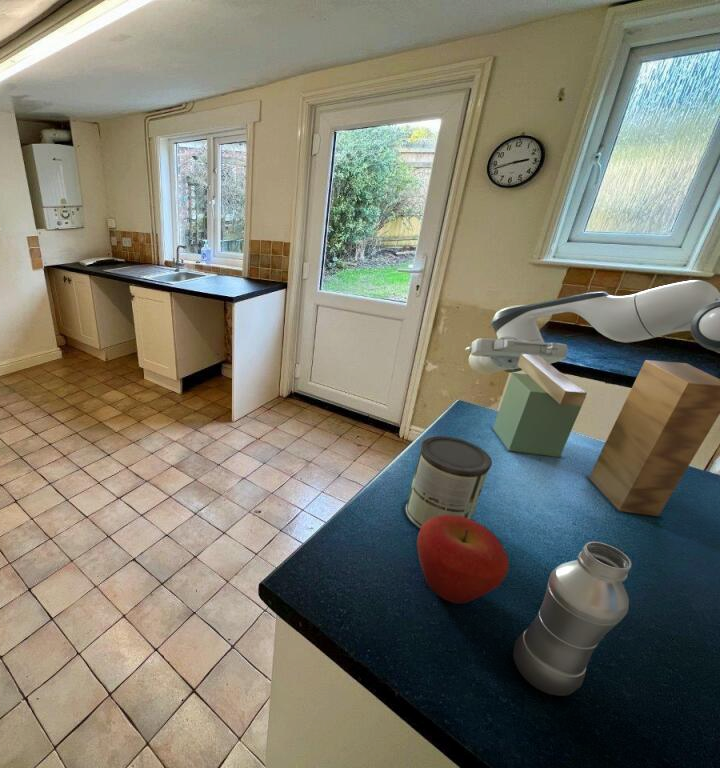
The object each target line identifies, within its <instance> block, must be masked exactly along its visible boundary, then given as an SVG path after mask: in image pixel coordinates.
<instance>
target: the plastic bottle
mask: <svg viewBox="0 0 720 768" xmlns="http://www.w3.org/2000/svg"><path fill="white" fill-rule="evenodd" d="M631 568H632V561H631V559H630V558H629V557H628V556H627V555H626V554H625V552H623V551H621V550H620V549H619V548H616V547H615V546H612V545H611V544H607V543H605V542H599V541H589V542H587V543H586V544H584V546H583V548H582V549H581V551H580V552H579V553H578V555H577V557H576V560H571V561H567V562H562V563H561V564H559V565H558V566H556V567H555V568H553V570H552V571H551V572H550V575H549V577H548V581H547V586H546V590H545V594H544V598H543V599H542V600H543V601H542V602H541V605H540V609H539V610H538V613H537V615H536V617H535V618H534V619H533V621H532V622H531V623H530V625H529V626H528V628H526V629H525V630H524V631H523V632H522V633H521V634H520V635H519V636H518V638H517V639H516V640H515V643H514V645H513V646H514V647H513V653H512V658H513V661H514V664H515V666H516V668H517V670H518V671H519V673H520V674H521V676H522V677H523V678H524V680H526V682H528V683H529V684H530V685H532V687H534V688H536V689H537V690H539V691H541V692H543V693H545V694H548V695H552V696H558V697H565V696H570V695H572V694H573V693H575V692H576V691H577V690H578V689H580V688H581V686H582V685H583V683H584V680H585V676H586V672H587V666H588V664H589V663H590V659H591V657H592V656H593V655H592V654H593V652H594V650H595V649H596V648H597V646H598V645H599V644H600V642H601V641H602V640H603V638H604V637H605V636H606V635H607V634H609V632H610V631H612V629H613V628H615V627H616V626H617V625H618V624H619V623H620V622H621V621H622V620H623V619H624V618H625V617H626V616H627V614H628V612H629V605H630V603H629V602H630V599H629V595H628V593H627V591H626V587H625V586H624V584H623V583H624V582H625V581H626V579H627V578H628V573H629V572H630V570H631Z"/></svg>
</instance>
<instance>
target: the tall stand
mask: <svg viewBox="0 0 720 768" xmlns="http://www.w3.org/2000/svg"><path fill="white" fill-rule="evenodd" d="M719 417H720V378H718V377H716V376H714V375H712V374H710V373H708V372H705V371H704V370H701V369H700V368H697V367H695V366H693V365H691V364H689V363H686V362H677V361H675V362H674V361H664V360H663V361H661V360H649V359H645V360H644V362H643V364H642V366H641V368H640V370H639V372H638V374H637V376H636V378H635V380H634V383H633V385H632V386H631V389H630V391H629V393H628V395H627V397H626V399H625V401H624V403H623V406H622V408H621V410H620V411H619V414H618V416H617V418H616V420H615V422H614V424H613V426H612V428H611V430H610V432H609V434H608V437H607V439H606V440H605V443H604V444H603V447H602V449H601V451H600V452H599V454H598V457H597V459H596V461H595V463H594V466H593V468H592V470H591V472H590V473H589V475H588V479H589V480H590V481H591V482H592V483H593V485H595V486H596V488H597V489H598V490H599V491H600V492H601V493H602V494H603V495H604V496H605V498H606V499H607V500H608V501H609V502H610V503H611V504H612V505H613V506H614V507H615V508H616V509H617V510H618V512H625V513H631V514H637V515H644V516H653V517H659V516H660V514H661V512H662V511H663V510H664V508H665V506H666V504H667V503H668V501H669V499H670V498H671V496H672V494H673V492H674V491H675V489H676V488H677V486H678V485H679V483H680V481H681V479H682V478H683V476H684V474H685V473H686V471H687V469H688V468H689V466H690V464H691V463H692V461H693V459H694V458H695V456H696V454H697V453H698V451H699V449H700V448H701V446H702V444H703V443H704V441H705V439H706V438H707V436H708V434H709V433H710V431H711V430H712V427H713V426H714V424H715V423H716V422H717V419H718V418H719Z"/></svg>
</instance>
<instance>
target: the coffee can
mask: <svg viewBox="0 0 720 768" xmlns="http://www.w3.org/2000/svg"><path fill="white" fill-rule="evenodd" d="M419 450H420V451H419V455H418V459H417V463H416V466H415V471H414V475H413V478H412V482H411V487H410V491H409V495H408V499H407V503H406V505H405V514H406V516H407V518H408V519H409V521H410V522H411V523H412V524H413V525H414V526H416V527H417V528H418V529H419V530H420V529H421V526H422V525H423V524H424V523H425V522H426V521H428V520H429V519H431V518H434V517H438V516H441V515H456V516H462V517H464V518H467V519H470V520H473V515H474V513H475V510H476V507H477V505H478V501H479V498H480V496H481V492H482V489H483V487H484V484H485V482H486V478H487V476H488V473H489V470H490V469H491V467H492V464H493V460H492V458H491V456H490V455H489V454H488V453H487V452H486V451H485V450H484V449H482V448H481V447H480V446H478V445H476V444H474V443H472V442H470V441H466V440H464V439H461V438H456V437H452V436H445V435H436V436H435V435H434V436H431V437H430V436H429V437H427V438H425V439H424V440H422V441H421V444H420V449H419Z"/></svg>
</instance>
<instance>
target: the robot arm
mask: <svg viewBox="0 0 720 768" xmlns="http://www.w3.org/2000/svg"><path fill="white" fill-rule="evenodd" d="M564 313H572V314H575V315H578V316H580V317H581V318H583V320H585V321H586V322H588V324H590V326H592V327H593V328H594V329H595V331H596V332H598V333H599V334H601V335H602V336H604V337H606V338H608V339H610V340H612V341H616V342H618V343H619V342H620V343H634V342H641V341H645V340H646V341H647V340H651V339H655V338H659V337H664V336H667V335H671V334H676V333H681V332H690V334H691V336H692V338H693V339H694V340H695V342H696V343H697V344H698V345H700V346H701V347H703V348H705V349H706V350H710V351H713V352H716V353H717V354H720V291H719V289H718V288H717V287H715V285H713V284H712V283H710V282H708V281H705V280H701V279H692V280H686V281H680V282H679V281H678V282H675V283H670V284H666V285H661V286H658V287H654V288H651V289H646V290H643V291H639V292H637V293H633V294H628V295H611V294H609V293H608V292H606V291H592V292H586V293H581V294H574V295H570V296H565V297H560V298H555V299H550V300H545V301H541V302H536V303H530V304H520V305H519V304H518V305H511V306H507V307H504V308H502V309H500V310H498V311H496V312H495V314H494V316H493V318H492V320H491V323H490V325H491V328H492V329H493V332H494V333H495V334H496V336H497V338H483V337H482V338H477V339H474V340H473V341H472V342H471V346H467V347H465V349H464V350H465V352H468V353H470V354H469V357H468V364H469V367H470V368H471V369H472V370H473V371H474V372H476V373H479V374H483V375H484V374H485V375H486V374H487V375H488V374H489V375H490V374H495V373H499V372H506V373H510V374H512V373H517V372H521V371H522V372H523V370H522V369H521V368H520V367H519V366H518V365H517V364H518V361H519V358H520V355H521V354H531V355H539V356H540V357H541V358H542V359H544V360H545V361H546V362H548V363H549V364H550V365H552V364H554V363H558V362H562V361H564V360H566V359H567V356H568V345H567V344H565V343H559V342H545V340H544V338H543V336H542V334H541V331H540V327H539V326H538V323H537V319H538V318H541V317H546V316H552V315H558V314H564Z"/></svg>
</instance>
